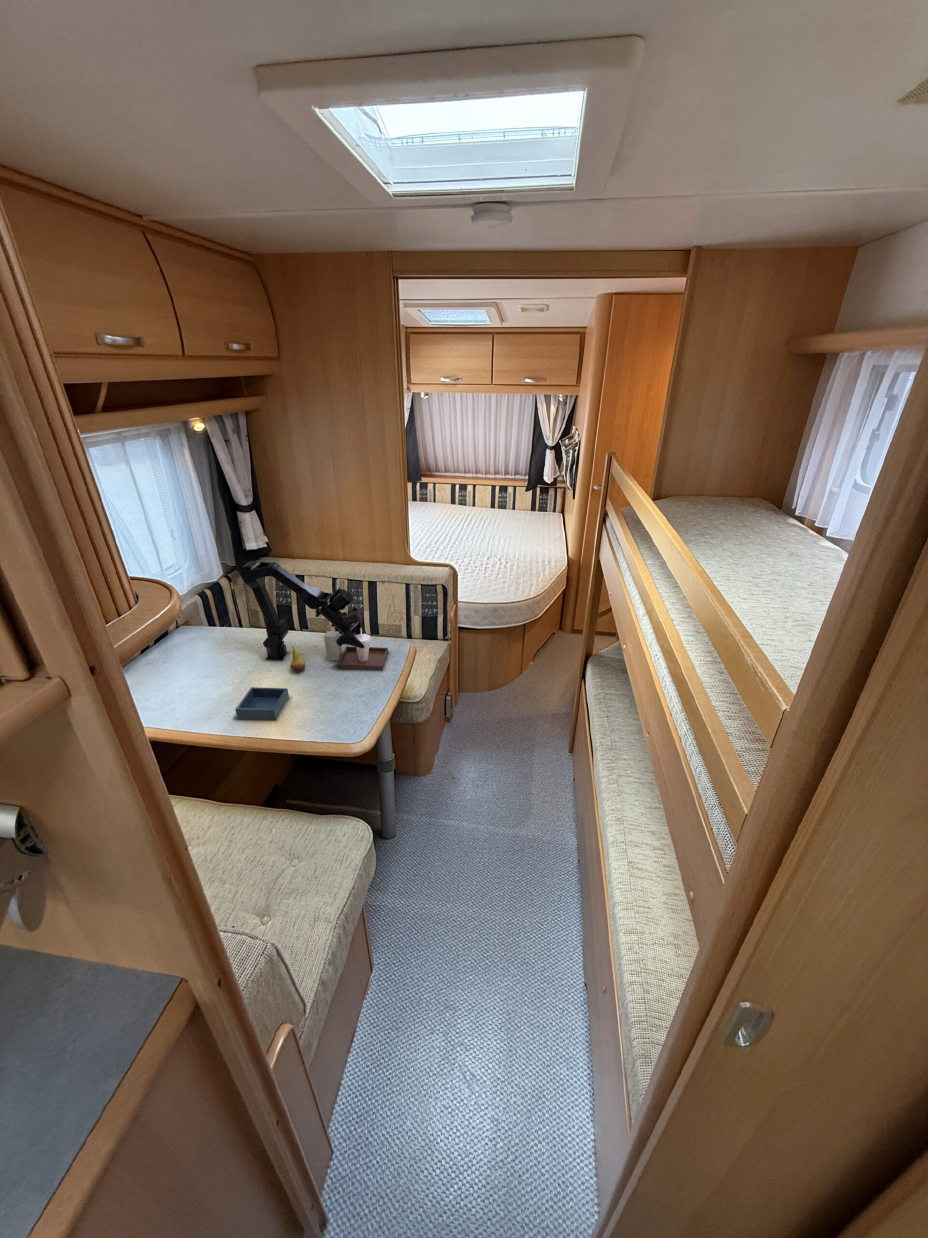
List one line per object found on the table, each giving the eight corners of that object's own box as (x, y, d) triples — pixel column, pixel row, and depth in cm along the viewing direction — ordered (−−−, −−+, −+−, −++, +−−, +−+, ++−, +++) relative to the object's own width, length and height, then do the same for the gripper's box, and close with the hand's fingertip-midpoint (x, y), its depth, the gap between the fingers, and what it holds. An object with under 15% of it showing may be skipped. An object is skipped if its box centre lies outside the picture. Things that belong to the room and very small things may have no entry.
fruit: (309, 669, 188) (306, 642, 183) (297, 676, 184) (293, 648, 178) (300, 665, 191) (296, 637, 186) (288, 671, 187) (283, 643, 181)
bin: (237, 719, 160) (235, 709, 158) (253, 696, 171) (251, 687, 170) (275, 720, 160) (274, 710, 158) (289, 697, 171) (287, 688, 170)
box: (342, 655, 198) (340, 631, 193) (339, 661, 194) (336, 636, 189) (329, 655, 198) (327, 630, 193) (326, 660, 194) (323, 635, 190)
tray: (337, 669, 189) (337, 664, 188) (346, 650, 202) (346, 646, 201) (382, 670, 189) (382, 665, 188) (388, 652, 201) (388, 647, 200)
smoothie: (352, 661, 193) (350, 630, 186) (358, 653, 198) (356, 622, 192) (368, 664, 192) (366, 632, 185) (373, 655, 197) (372, 624, 191)
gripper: (342, 614, 176) (374, 643, 181) (355, 594, 193) (384, 620, 197) (322, 632, 180) (354, 660, 184) (337, 611, 197) (366, 636, 201)
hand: (365, 643), depth 192 cm, fingers closed on smoothie, 6 cm apart
